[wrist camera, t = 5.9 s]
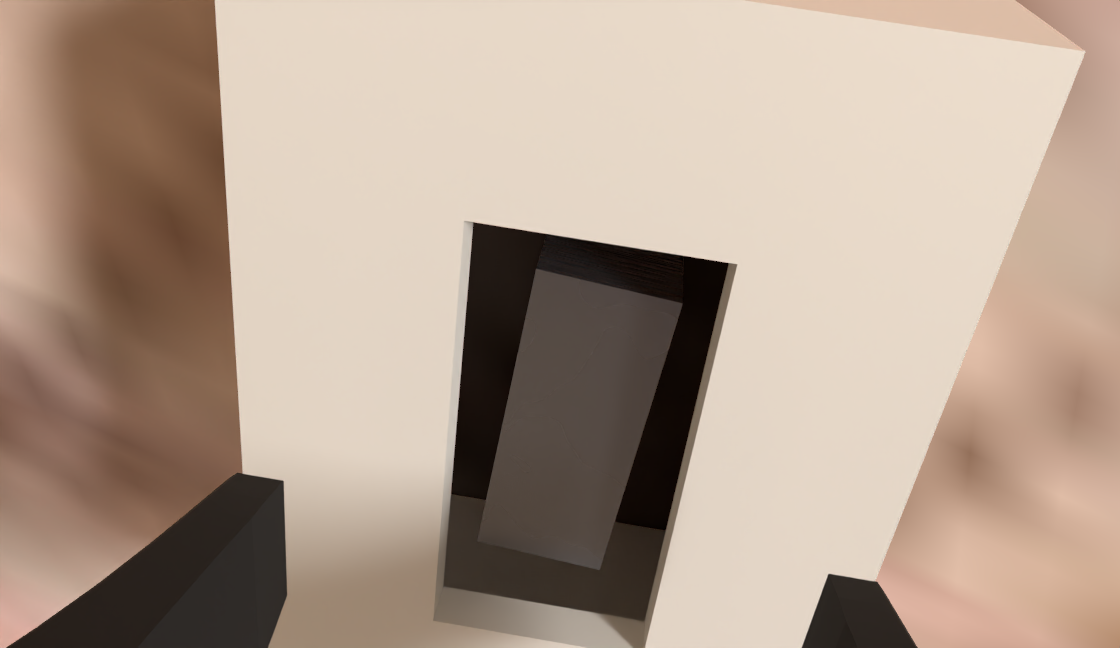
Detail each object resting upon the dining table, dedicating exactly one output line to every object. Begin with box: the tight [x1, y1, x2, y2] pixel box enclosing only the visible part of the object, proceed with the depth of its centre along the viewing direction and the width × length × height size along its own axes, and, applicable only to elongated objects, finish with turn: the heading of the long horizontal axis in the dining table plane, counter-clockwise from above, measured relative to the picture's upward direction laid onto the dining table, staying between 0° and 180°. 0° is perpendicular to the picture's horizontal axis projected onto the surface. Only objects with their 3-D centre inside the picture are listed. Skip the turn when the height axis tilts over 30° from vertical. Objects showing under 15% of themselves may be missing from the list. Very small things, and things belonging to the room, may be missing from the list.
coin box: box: [215, 0, 1086, 648], centre depth 17 cm, size 14×10×6 cm
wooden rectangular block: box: [477, 234, 683, 570], centre depth 18 cm, size 6×2×5 cm, turn 168°
